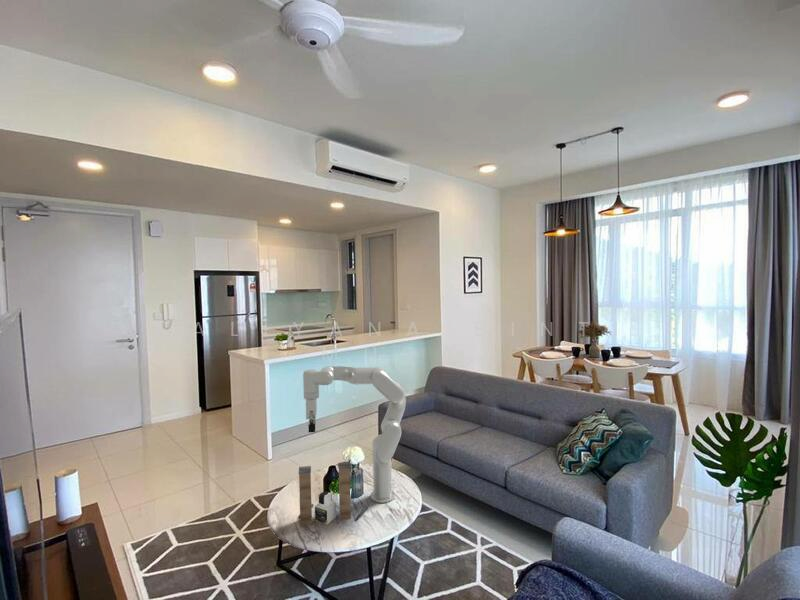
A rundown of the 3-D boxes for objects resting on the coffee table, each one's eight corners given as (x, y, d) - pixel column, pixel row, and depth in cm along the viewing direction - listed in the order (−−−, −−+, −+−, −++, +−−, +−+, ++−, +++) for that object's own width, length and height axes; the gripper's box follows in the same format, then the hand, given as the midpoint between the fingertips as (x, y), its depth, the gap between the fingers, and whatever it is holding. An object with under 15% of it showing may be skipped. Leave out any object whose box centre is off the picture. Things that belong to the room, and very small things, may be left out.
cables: (306, 505, 191) (306, 503, 191) (368, 507, 188) (368, 505, 188) (298, 518, 180) (298, 515, 180) (364, 520, 177) (364, 518, 177)
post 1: (300, 518, 180) (299, 467, 179) (312, 517, 181) (310, 465, 180) (299, 525, 174) (298, 472, 174) (312, 524, 176) (310, 471, 175)
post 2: (339, 513, 183) (338, 462, 183) (350, 512, 184) (349, 461, 184) (339, 520, 178) (338, 468, 177) (351, 518, 179) (350, 466, 178)
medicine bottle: (314, 521, 178) (314, 495, 178) (324, 513, 184) (324, 488, 184) (327, 525, 175) (326, 499, 174) (336, 516, 181) (336, 491, 181)
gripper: (304, 390, 199) (305, 423, 199) (302, 400, 182) (303, 435, 182) (318, 389, 200) (319, 422, 201) (319, 398, 183) (319, 434, 184)
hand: (312, 428), depth 191 cm, fingers open, 9 cm apart
